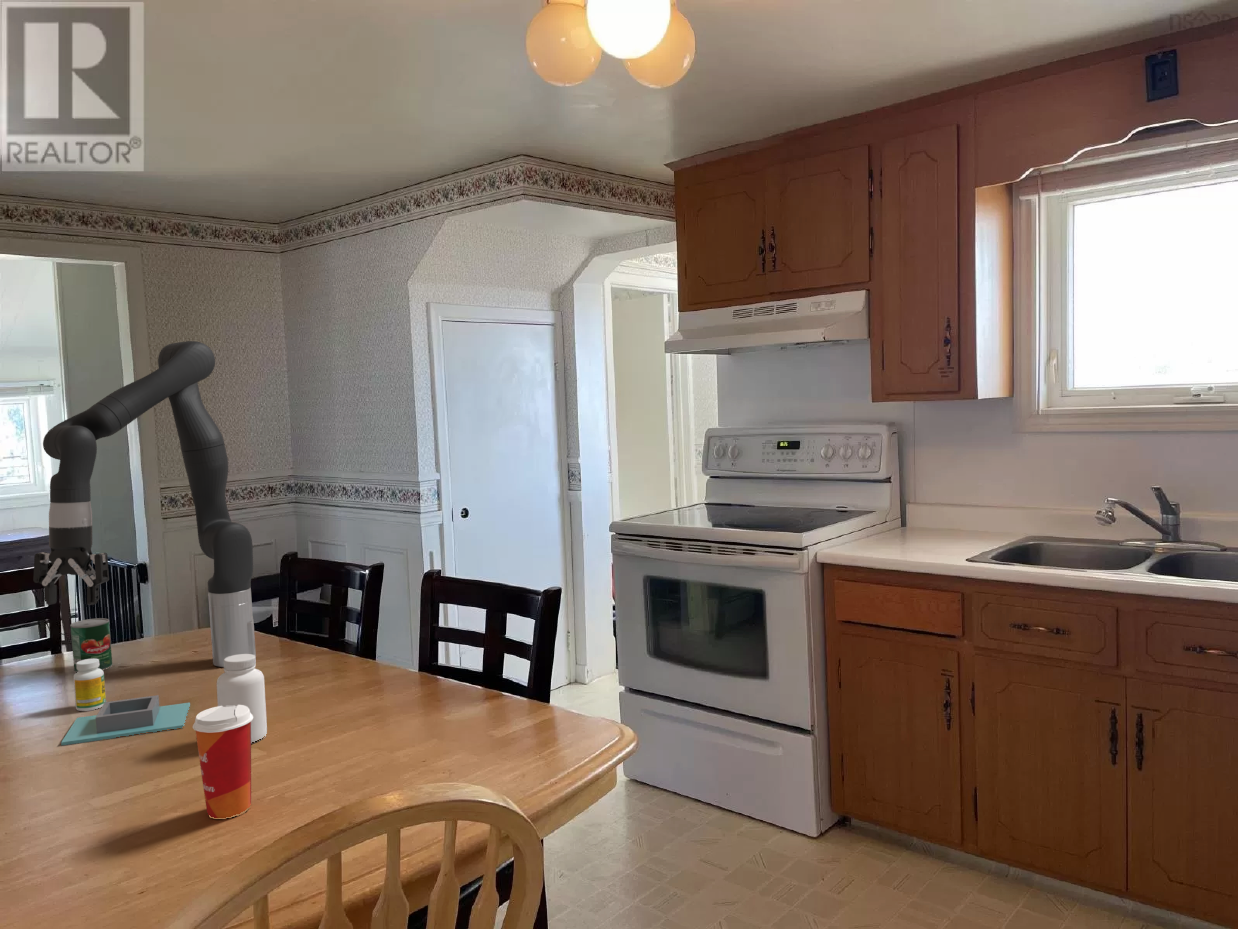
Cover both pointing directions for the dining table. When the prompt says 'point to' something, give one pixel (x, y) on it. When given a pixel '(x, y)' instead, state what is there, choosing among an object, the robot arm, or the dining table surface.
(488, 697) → the dining table surface
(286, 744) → the dining table surface
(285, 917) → the dining table surface
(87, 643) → the canned tomato
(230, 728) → the coffee cup
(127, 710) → the bottle stand
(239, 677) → the pill bottle
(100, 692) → the supplement bottle
